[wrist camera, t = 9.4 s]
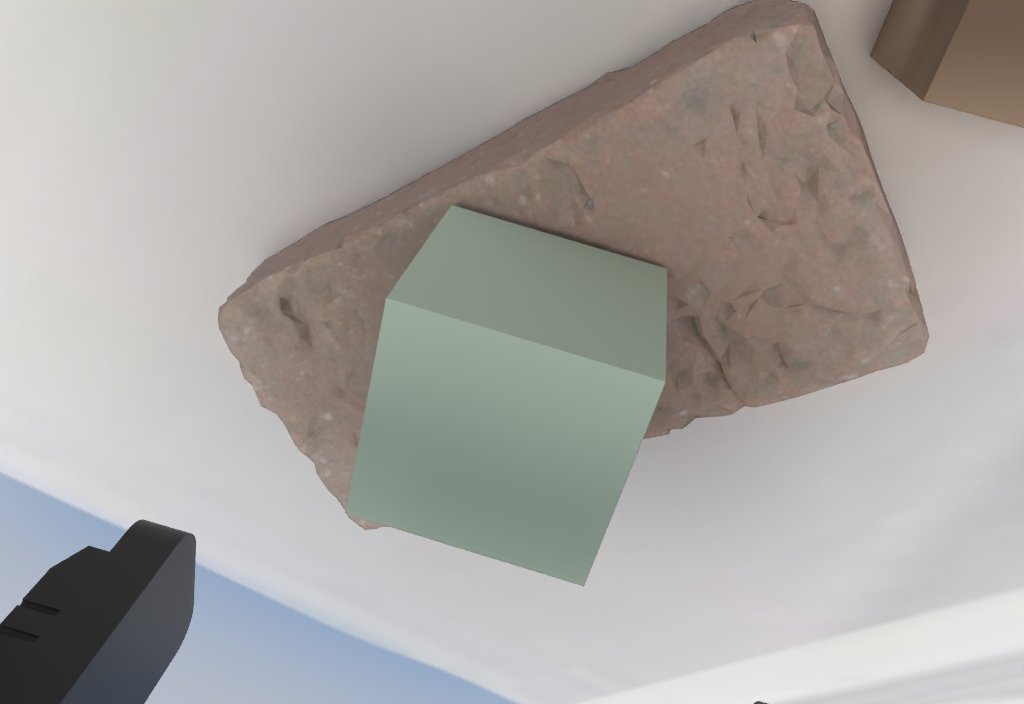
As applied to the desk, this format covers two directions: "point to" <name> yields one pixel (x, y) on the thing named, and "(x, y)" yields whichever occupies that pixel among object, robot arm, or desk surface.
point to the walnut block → (958, 54)
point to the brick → (631, 235)
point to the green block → (510, 393)
